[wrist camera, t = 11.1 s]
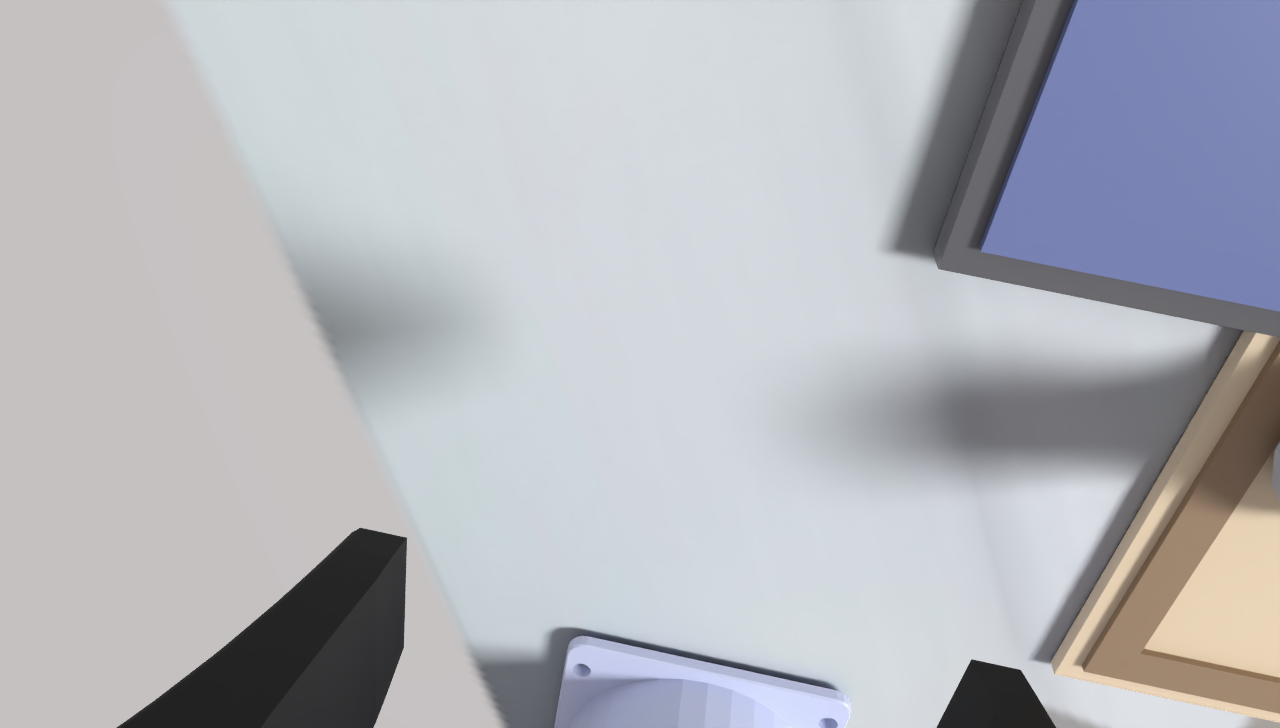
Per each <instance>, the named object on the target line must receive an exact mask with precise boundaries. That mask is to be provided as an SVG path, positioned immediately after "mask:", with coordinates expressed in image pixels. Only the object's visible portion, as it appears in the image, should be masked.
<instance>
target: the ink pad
mask: <svg viewBox="0 0 1280 728" xmlns="http://www.w3.org/2000/svg"><path fill="white" fill-rule="evenodd" d="M933 254H934V257H935V260H936V263H937V266H938V269H941V270H946V271H951V272H956V273H961V274H966V275H971V276H976V277H981V278H986V279H991V280H996V281H1001V282H1006V283H1011V284H1016V285H1021V286H1026V287H1031V288H1036V289H1041V290H1046V291H1051V292H1056V293H1061V294H1066V295H1071V296H1076V297H1081V298H1086V299H1091V300H1096V301H1101V302H1106V303H1111V304H1115V305H1120V306H1125V307H1130V308H1135V309H1140V310H1145V311H1150V312H1155V313H1160V314H1165V315H1170V316H1175V317H1180V318H1185V319H1190V320H1195V321H1200V322H1205V323H1210V324H1215V325H1220V326H1225V327H1230V328H1235V329H1240V330H1245V331H1250V332H1255V333H1260V334H1265V335H1270V336H1275V337H1280V0H1023V1H1022V4H1021V7H1020V10H1019V12H1018V15H1017V18H1016V21H1015V24H1014V26H1013V29H1012V32H1011V35H1010V38H1009V40H1008V43H1007V46H1006V49H1005V52H1004V55H1003V57H1002V60H1001V63H1000V66H999V69H998V71H997V74H996V77H995V80H994V83H993V85H992V88H991V91H990V94H989V97H988V99H987V102H986V105H985V108H984V111H983V113H982V116H981V119H980V122H979V125H978V127H977V130H976V133H975V136H974V139H973V141H972V144H971V147H970V150H969V153H968V155H967V158H966V161H965V164H964V167H963V169H962V172H961V175H960V178H959V181H958V184H957V186H956V189H955V192H954V195H953V198H952V200H951V203H950V206H949V209H948V212H947V214H946V217H945V220H944V223H943V226H942V228H941V231H940V234H939V237H938V240H937V242H936V245H935V248H934V251H933Z"/></svg>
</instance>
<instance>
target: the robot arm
mask: <svg viewBox="0 0 1280 728" xmlns="http://www.w3.org/2000/svg"><path fill="white" fill-rule="evenodd" d="M406 549H407V538H405V537H400V536H396V535H391V534H386V533H382V532H377V531H373V530H368V529H363V528H359V529H358V530H356V531H354V532H352V533H351V534H350V535H349V536H348V537H347V538H346V539H345V540H344V541H343V542H342V543H341V544H340V545H339V546H337V547H336V548H335V549H334V550H333V551H332V552H331V553H330V554H329V555H328V556H327V557H326V558H325V559H324V560H323V561H322V562H321V563H319V564H318V565H317V566H316V567H315V568H314V569H313V570H312V571H311V572H310V573H309V574H308V575H307V576H305V577H304V578H303V579H302V580H301V581H300V582H299V583H298V584H297V585H295V586H294V587H293V588H292V589H291V590H290V591H289V592H288V593H287V594H285V595H284V596H283V597H282V598H281V599H280V600H279V601H278V602H277V603H275V604H274V605H273V606H272V607H271V608H270V609H268V610H267V611H266V612H265V613H264V614H262V615H261V616H260V617H259V618H258V619H257V620H255V621H254V622H253V623H252V624H251V625H250V626H248V627H247V628H246V629H245V630H244V631H242V632H241V633H240V634H239V635H238V636H237V637H235V638H234V639H233V640H232V641H231V642H229V643H228V644H227V645H226V646H224V647H223V648H222V649H221V650H220V651H218V652H217V653H216V654H215V655H213V656H212V657H211V658H209V659H208V660H207V661H206V662H204V663H203V664H202V665H200V666H199V667H198V668H196V669H195V670H194V671H193V672H191V673H190V674H189V675H187V676H186V677H185V678H183V679H182V680H181V681H180V682H178V683H177V684H176V685H174V686H173V687H172V688H170V689H169V690H168V691H167V692H165V693H164V694H163V695H161V696H160V697H159V698H157V699H156V700H155V701H154V702H152V703H151V704H149V705H148V706H146V707H145V708H144V709H142V710H141V711H139V712H138V713H137V714H135V715H134V716H133V717H131V718H130V719H128V720H127V721H126V722H124V723H123V724H121V725H120V726H118V727H117V728H373V727H374V725H375V723H376V720H377V718H378V715H379V712H380V710H381V707H382V705H383V702H384V699H385V697H386V694H387V692H388V689H389V686H390V683H391V681H392V678H393V675H394V673H395V670H396V667H397V664H398V662H399V659H400V656H401V653H402V651H403V648H404V619H405V583H406ZM581 664H584V665H581ZM586 665H587V666H586ZM850 715H851V701H850V699H849V697H848V696H847V695H845V694H844V693H842V692H840V691H837V690H833V689H828V688H823V687H819V686H814V685H810V684H805V683H800V682H796V681H791V680H787V679H782V678H778V677H773V676H768V675H764V674H759V673H755V672H750V671H745V670H741V669H736V668H732V667H727V666H722V665H718V664H713V663H709V662H704V661H699V660H695V659H690V658H686V657H681V656H676V655H672V654H667V653H663V652H658V651H653V650H649V649H644V648H640V647H635V646H630V645H626V644H621V643H617V642H612V641H608V640H603V639H598V638H594V637H589V636H579V637H575V638H574V639H572V640H571V641H570V643H569V646H568V650H567V654H566V660H565V665H564V671H563V677H562V683H561V689H560V695H559V701H558V707H557V713H556V719H555V725H554V728H845V727H846V725H847V722H848V720H849V718H850ZM829 718H830V719H829ZM937 728H1056V727H1055V725H1054V724H1053V722H1052V720H1051V719H1050V717H1049V715H1048V714H1047V712H1046V710H1045V709H1044V707H1043V705H1042V704H1041V702H1040V701H1039V699H1038V697H1037V696H1036V694H1035V692H1034V691H1033V689H1032V688H1031V686H1030V684H1029V683H1028V681H1027V679H1026V678H1025V676H1024V675H1023V673H1022V671H1021V670H1018V669H1013V668H1009V667H1004V666H1000V665H995V664H990V663H986V662H981V661H976V660H971V662H970V664H969V665H968V667H967V669H966V671H965V673H964V675H963V677H962V679H961V681H960V683H959V685H958V687H957V689H956V691H955V693H954V695H953V697H952V699H951V701H950V702H949V704H948V706H947V708H946V710H945V712H944V714H943V716H942V718H941V720H940V722H939V724H938V726H937Z"/></svg>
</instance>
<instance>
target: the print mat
mask: <svg viewBox="0 0 1280 728" xmlns="http://www.w3.org/2000/svg"><path fill="white" fill-rule="evenodd" d="M1279 442H1280V337H1275V336H1270V335H1265V334H1260V333H1255V332H1250V331H1245V330H1244V331H1243V332H1242V334H1241V336H1240V338H1239V339H1238V341H1237V343H1236V344H1235V346H1234V348H1233V350H1232V351H1231V353H1230V355H1229V356H1228V358H1227V360H1226V362H1225V363H1224V365H1223V367H1222V369H1221V370H1220V372H1219V374H1218V375H1217V377H1216V379H1215V381H1214V382H1213V384H1212V386H1211V387H1210V389H1209V391H1208V393H1207V394H1206V396H1205V398H1204V399H1203V401H1202V403H1201V405H1200V406H1199V408H1198V410H1197V411H1196V413H1195V415H1194V417H1193V418H1192V420H1191V422H1190V424H1189V425H1188V427H1187V429H1186V430H1185V432H1184V434H1183V436H1182V437H1181V439H1180V441H1179V442H1178V444H1177V446H1176V448H1175V449H1174V451H1173V453H1172V454H1171V456H1170V458H1169V460H1168V461H1167V463H1166V465H1165V466H1164V468H1163V470H1162V472H1161V473H1160V475H1159V477H1158V479H1157V480H1156V482H1155V484H1154V485H1153V487H1152V489H1151V491H1150V492H1149V494H1148V496H1147V497H1146V499H1145V501H1144V503H1143V504H1142V506H1141V508H1140V509H1139V511H1138V513H1137V515H1136V516H1135V518H1134V520H1133V521H1132V523H1131V525H1130V527H1129V528H1128V530H1127V532H1126V534H1125V535H1124V537H1123V539H1122V540H1121V542H1120V544H1119V546H1118V547H1117V549H1116V551H1115V552H1114V554H1113V556H1112V558H1111V559H1110V561H1109V563H1108V564H1107V566H1106V568H1105V570H1104V571H1103V573H1102V575H1101V576H1100V578H1099V580H1098V582H1097V583H1096V585H1095V587H1094V589H1093V590H1092V592H1091V594H1090V595H1089V597H1088V599H1087V601H1086V602H1085V604H1084V606H1083V607H1082V609H1081V611H1080V613H1079V614H1078V616H1077V618H1076V619H1075V621H1074V623H1073V625H1072V626H1071V628H1070V630H1069V631H1068V633H1067V635H1066V637H1065V638H1064V640H1063V642H1062V644H1061V645H1060V647H1059V649H1058V650H1057V652H1056V654H1055V656H1054V657H1053V659H1052V661H1051V664H1052V668H1053V671H1054V674H1056V675H1061V676H1066V677H1070V678H1075V679H1079V680H1084V681H1089V682H1093V683H1098V684H1103V685H1107V686H1112V687H1117V688H1121V689H1126V690H1131V691H1135V692H1140V693H1144V694H1149V695H1154V696H1158V697H1163V698H1168V699H1172V700H1177V701H1182V702H1186V703H1191V704H1196V705H1200V706H1205V707H1210V708H1214V709H1219V710H1223V711H1228V712H1233V713H1237V714H1242V715H1247V716H1251V717H1256V718H1261V719H1266V720H1270V721H1275V722H1279V723H1280V500H1279V498H1278V496H1277V494H1276V492H1275V490H1274V488H1273V486H1272V484H1271V483H1272V473H1273V464H1274V454H1275V450H1276V448H1277V446H1278V444H1279Z"/></svg>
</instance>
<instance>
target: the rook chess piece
mask: <svg viewBox="0 0 1280 728" xmlns="http://www.w3.org/2000/svg"><path fill="white" fill-rule="evenodd" d="M1271 484H1272V486H1273V488H1274V490H1275V492H1276V494H1277V496H1278V498H1279V500H1280V442H1279V444H1278V446H1277V448H1276V450H1275V454H1274V464H1273V473H1272V483H1271Z"/></svg>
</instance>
